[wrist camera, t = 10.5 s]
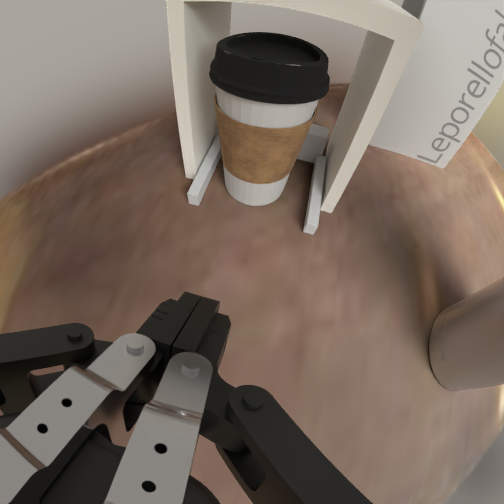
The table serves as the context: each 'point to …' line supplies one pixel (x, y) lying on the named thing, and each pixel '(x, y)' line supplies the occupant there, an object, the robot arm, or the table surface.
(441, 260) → the table surface
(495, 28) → the tall white box
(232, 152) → the coffee cup
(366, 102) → the white rectangular frame
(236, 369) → the table surface
